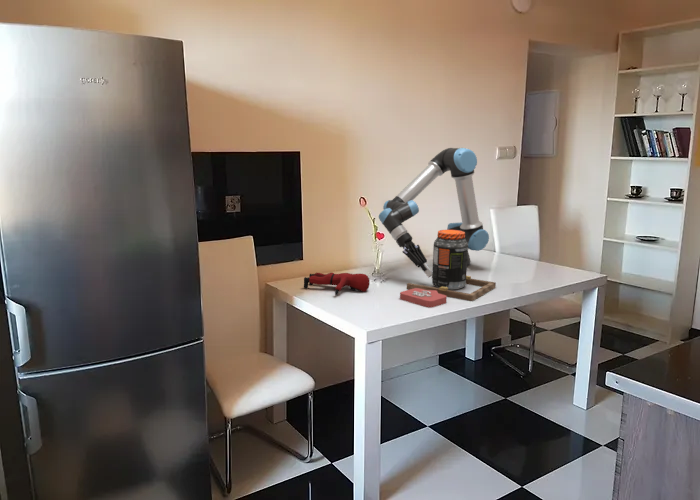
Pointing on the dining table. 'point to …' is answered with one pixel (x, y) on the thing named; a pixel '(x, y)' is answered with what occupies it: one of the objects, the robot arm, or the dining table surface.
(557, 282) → the dining table surface
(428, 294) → the plaque
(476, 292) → the beam slot
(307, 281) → the toy
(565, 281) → the dining table surface
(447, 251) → the supplement tub
